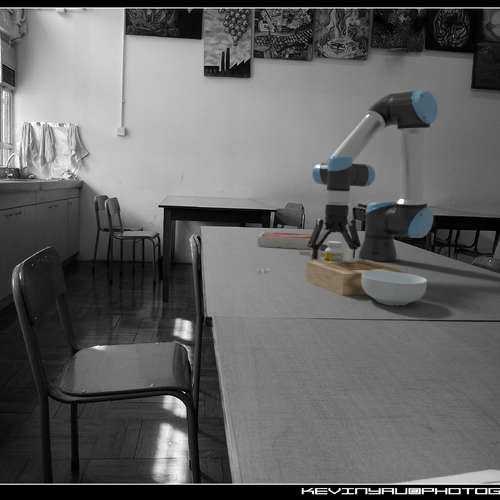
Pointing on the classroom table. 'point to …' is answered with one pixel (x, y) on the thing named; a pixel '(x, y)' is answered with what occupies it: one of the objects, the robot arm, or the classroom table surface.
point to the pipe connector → (310, 253)
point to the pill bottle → (334, 251)
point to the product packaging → (284, 240)
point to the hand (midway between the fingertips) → (332, 268)
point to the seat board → (343, 274)
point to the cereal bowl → (393, 287)
